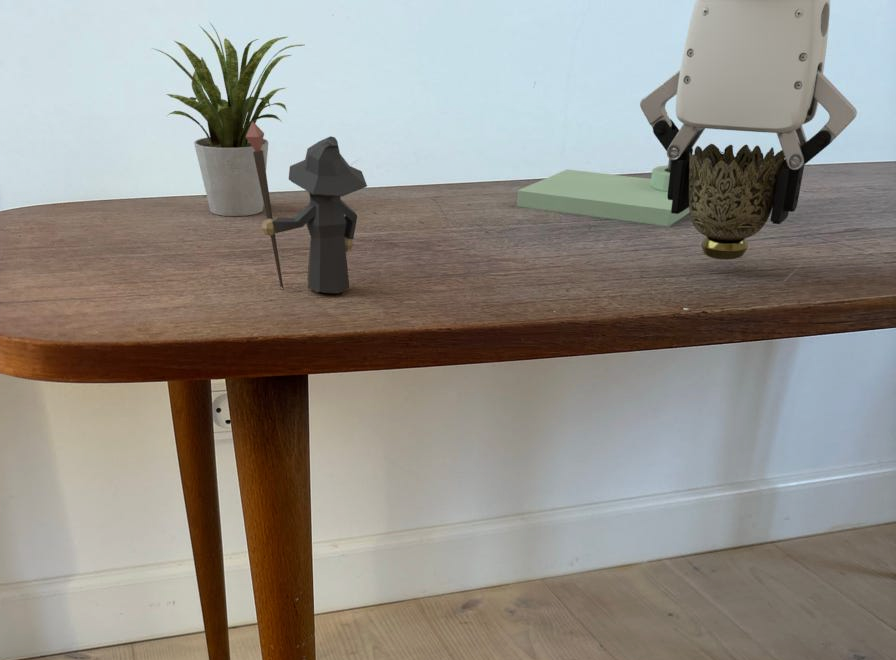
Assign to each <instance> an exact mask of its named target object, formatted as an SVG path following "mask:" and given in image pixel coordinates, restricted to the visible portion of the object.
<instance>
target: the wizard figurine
mask: <svg viewBox="0 0 896 660" xmlns="http://www.w3.org/2000/svg"><path fill="white" fill-rule="evenodd" d="M264 137H265V132H264V131H263V130H262V129H261V128H260V127H259V126H258V125H257V124H256V123H254V122H253V121H252V123H251V126H250V128H249V130H248V133H247V135H246V138H247V140H248V141H249V143H250V144H251V146H252V147H253V148H254V150H255V151H254V152H253V154H254V159H255V163H256V168H257V173H258V178H259V182H260V187H261V192H262V197H263V207H264V210H265V216H266V219H265V220H263V221H262V222H263V223H262V225H261V229H262V231H263V234H264V235H267V236H270V240H271V245H272V251H273V255H274V260H275V265H276V271H277V277H278V281H279V287H280V288H281V287H282V288H283V289H284V284H283V276H282V270H281V264H280V258H279V251H278V246H277V245H278V244H277V238H276V234H279V233H283V232H288V231H291V230H296V229H299V228H300V229H301V228H303V227H304V226H306V229H307V230H308V233H309V236H310V241H309V253H308V267H307V289H308V288H309V289H311V290H313V291H317V292H322V293H324V294H325V293H326V294H339V293H342V292H344V291H346V290H348V289H350V288H351V287H350V278H349V269H348V259H347V252H349V251H350V250H352V248H353V246H354V243H353V240H354V237H355V231H356V226H357V220H358V214H357V213H356V211H354V210H353V209H352V208H351V207H350V206H349V205H348V204H347V203H346V202H344V201H343V200H342V199H341V197H342V198H343V197H344V196H347V195H349V194H352V193H355V192H357V191H360V190H362V189H365V188H367V187H368V185H367V181H366V179H365V176H364V173H363V171H362V170H360V169H357V168H355V167H353V166H351V165H350V164H349V163H348V161H346V160H345V158H344V156H343V155H342V153H341V152H340V147H339V143H338V140H337V138H336V137H335V136H332V135H330V136H327V137H326V138H323V139H321V140H319V141H317V142H316V143H314V144H313V145H311V146H309V147H308V148H307V150H306V154H305V158H304V159H303V160H301V161H299V162H297V163H294V164H291V165H289V172H288V180H289V181H290V182H291V183H293V184H294V185H296V186H298V187H300V188H301V189H303V190H305V191H306V192H307V193H308V197H309V203H308V204H307V206H305V207H304V208H303V209H302V210H301V211H299V212H298V213H297V214H296V215H295V216H293V217H279V216H278V217H276V218H273V212H272V204H271V197H270V191H269V184H268V177H267V168H266V169H265V162H264V155H263V150H261V147H262V142H263V139H264ZM309 289H308V290H309ZM311 290H310V291H311ZM313 291H312V292H313ZM317 292H316V293H317ZM322 293H321V294H322Z"/></svg>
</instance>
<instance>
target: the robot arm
mask: <svg viewBox="0 0 896 660" xmlns="http://www.w3.org/2000/svg"><path fill="white" fill-rule="evenodd" d="M830 11H831V0H695V1H694V5H693V9H692V13H691V17H690V21H689V25H688V30H687V35H686V38H685V43H684V48H683V53H682V58H681V59H682V60H681V64H680V68H679V70H678V71H676V72H675V73H674V74H672V75H671V76H670V77H669V78H668V79H666V80H665V81H664V82H662V83H661V84H659V86H657V87H656V88H655V89H653V90H652V91H650V92H649V93H648V94H647V95H646V96H644V97H643V98H642V99H641V100H640V103H639V107H640V109H641V112H642V113H643V114H644V116H645V118H646V120H647V122H648V123H649V125H650V127H651V128H652V133H653V135H654V136H655V138H656V139H657V140H658V142H659V143H660V144H661V146H662V147H663V148H664V150H665V151H666V156H667V158H668V160H669V159H671V168H670V177H669V186H668V195H667V197H668V200H672V208H671V213H674V214H679V213H680V212H682V211H684V210H685V209H687V208H688V207H689V152H690V151H691V154H692V155H693V154H694V148H693V147H694V146H695V145H696V143H697V142H698V141H699V139H700V137H701V135H702V134H703V133H704V132H705V130H706V129H708V130H709V129H710V130H722V131H723V130H724V131H737V132H753V133H767V134H768V133H770V134H776V136H777V139H778V141H779V145H780V147H781V150H783V153H784V156H785V159H786V160H785V163H784V167H783V168H782V169H781V170H779V173H778V178H777V184H776V190H775V196H774V202H773V207H772V210H771V213H770V223H771V222H772V224H773V225H780V224H782V223H783V222H784V221H785V220H786V219H787V218H788V216H789V212H793V213H794V212H795V211H796V209H797V207H798V202H799V199H800V198H799V197H800V191H801V186H802V181H803V176H804V170H805V165H806V164H807V163H809V162H810V161H811V160H812V159H813V158H815V157H816V156H817V155H819V154H820V153H821V152H822V151H824V150H825V149H826V148H827V147H828V146H829V145H831V143H832V142H833V141H835V139H836V138H837V137H838V136H839V135H840V134H841V133H842V132H843V131H844V130H845V129H846V128H847V127H848V126H849V125H850V124H851V123H852V122H853V121H854V120H855V118H856V117H857V115H858V111H857V109H856V107H855V106H854V105H853V104H852V102H850V101H849V100H848V99H847V97H845V96H844V94H843V93H841V91H840V90H838V88H837V87H836V86H835V85H834V84H833V83H832V82H831V81H830V80H829V79H828V78H827V77H826V76H825V74H824V70H825V62H826V54H827V48H828V47H827V46H828V36H829V26H830ZM675 96H676V97H675ZM674 97H675V115H676V119H677V120H678V121H679V122H680V123H682V125H681V127H680V128H678V126H677V125H676V124H675V122H674V120H672V119H671V118H670V117H669V115H668V111H667V110H666V104H667V103H668V101H670V100H671V99H673V98H674ZM819 104H820V106H821V107H822V108H823V109H824V110H825V111H826V112H827V113H828V115H829V118H828V121H827V122H826V123H825V124H824V125H823V127H821V129H819V131H817V133H815V134H814V135H813V136H812V137H811V138H809V139H807V136H806V133H805V131H804V127H803V125H805V124H808V123H809V122H811V121H812V120H813V119H814V118H815V116H816V114H817V112H818V107H819Z"/></svg>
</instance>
